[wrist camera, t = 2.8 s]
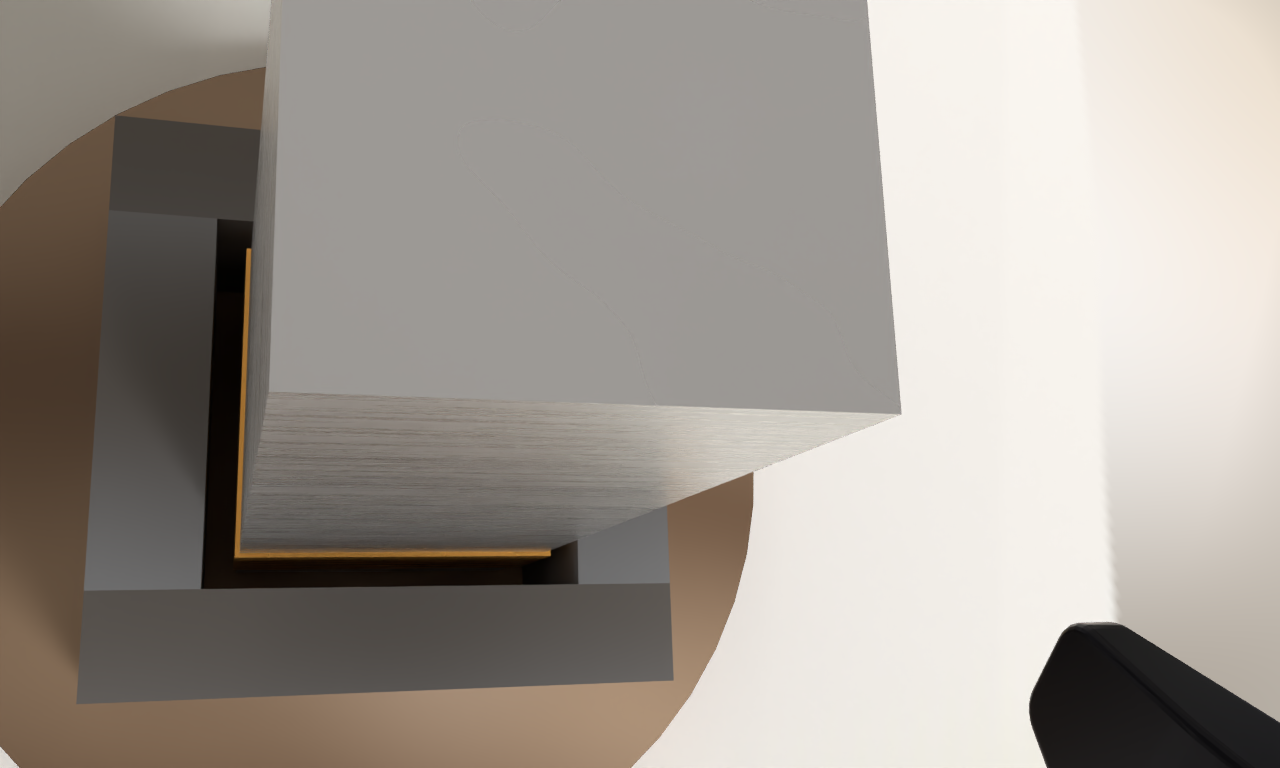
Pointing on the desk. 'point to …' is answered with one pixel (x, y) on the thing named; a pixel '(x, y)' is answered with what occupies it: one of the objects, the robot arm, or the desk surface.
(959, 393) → the desk surface
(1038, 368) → the desk surface
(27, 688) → the stand base
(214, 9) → the desk surface
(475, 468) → the post
